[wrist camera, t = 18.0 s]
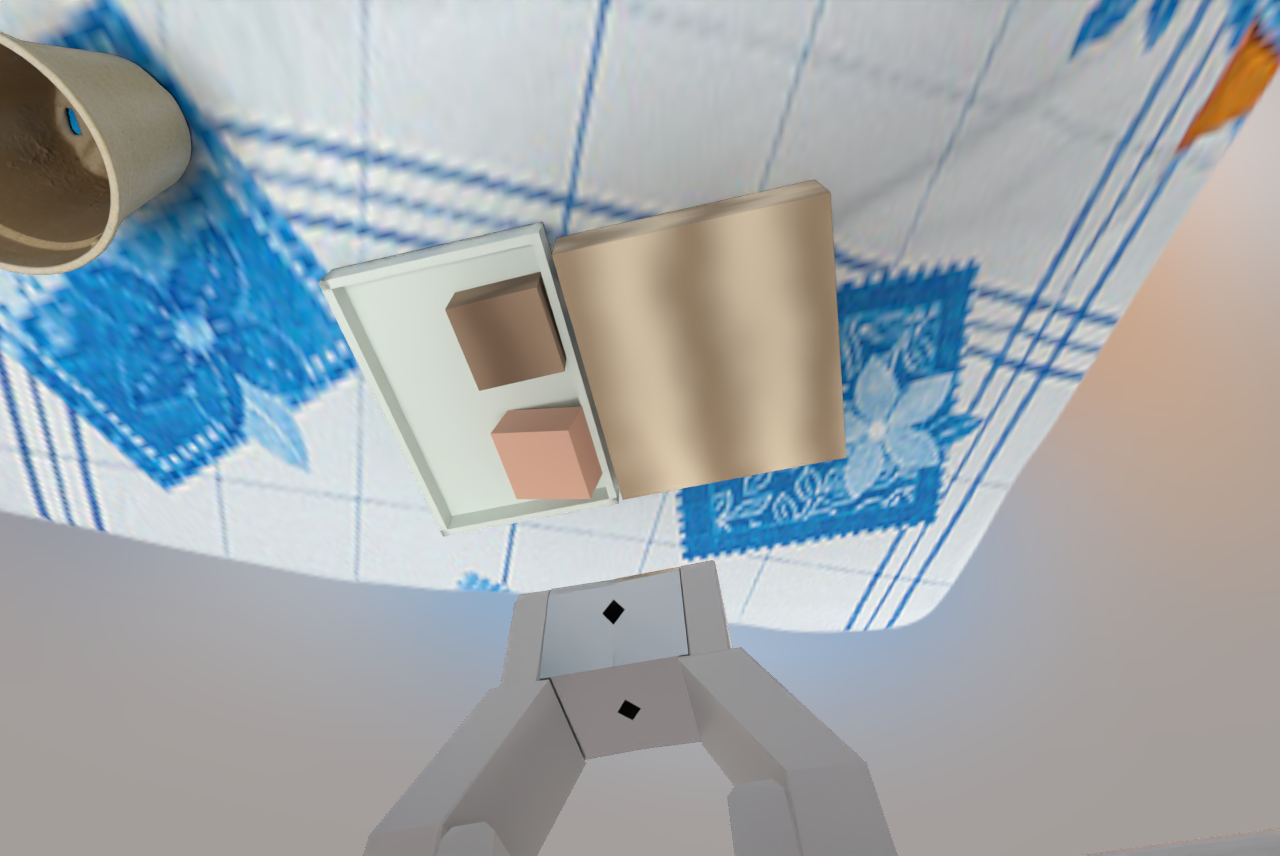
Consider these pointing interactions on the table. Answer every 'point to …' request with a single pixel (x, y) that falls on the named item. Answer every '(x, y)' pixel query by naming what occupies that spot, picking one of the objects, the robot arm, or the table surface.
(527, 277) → the walnut tile
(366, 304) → the tray
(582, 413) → the terracotta tile
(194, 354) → the table surface
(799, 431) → the board
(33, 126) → the flower pot
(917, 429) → the table surface
